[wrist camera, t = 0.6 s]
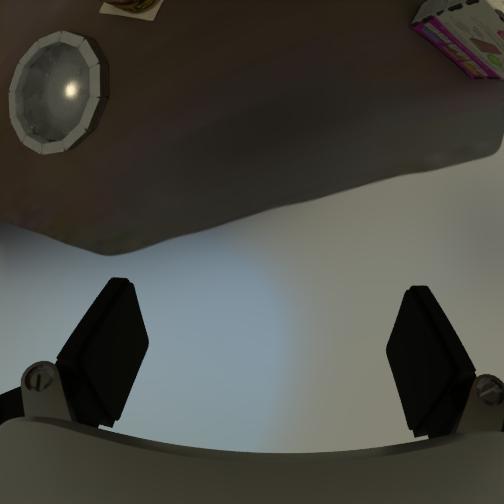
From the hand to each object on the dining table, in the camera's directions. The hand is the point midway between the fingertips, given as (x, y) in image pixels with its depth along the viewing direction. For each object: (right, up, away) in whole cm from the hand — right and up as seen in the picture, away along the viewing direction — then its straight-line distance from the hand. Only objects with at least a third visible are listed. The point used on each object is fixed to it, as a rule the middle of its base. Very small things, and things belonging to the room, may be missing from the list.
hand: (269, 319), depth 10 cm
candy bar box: (+24, +29, +16) cm, 41 cm away
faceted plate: (-27, +24, +21) cm, 42 cm away
